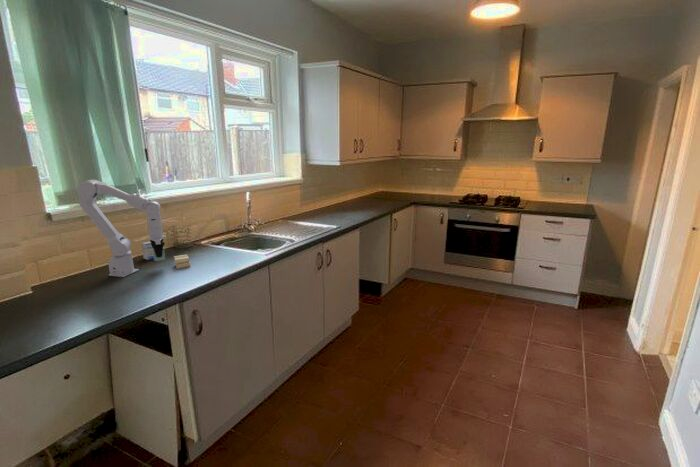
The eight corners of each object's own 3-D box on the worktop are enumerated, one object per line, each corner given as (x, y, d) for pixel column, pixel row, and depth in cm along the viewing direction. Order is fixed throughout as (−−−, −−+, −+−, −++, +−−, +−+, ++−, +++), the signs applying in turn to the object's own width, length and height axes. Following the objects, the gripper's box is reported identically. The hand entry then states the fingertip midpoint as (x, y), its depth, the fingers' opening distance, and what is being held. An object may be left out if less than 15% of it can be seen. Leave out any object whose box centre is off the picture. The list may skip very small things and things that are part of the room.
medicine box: (147, 260, 189) (145, 244, 187) (143, 258, 192) (141, 242, 190) (162, 256, 195) (160, 240, 193) (158, 255, 198) (156, 239, 196)
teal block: (165, 259, 175) (164, 248, 173) (154, 261, 172) (153, 249, 171) (164, 257, 178) (163, 246, 177) (153, 258, 176) (152, 247, 175)
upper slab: (189, 262, 180) (188, 257, 179) (175, 264, 177) (175, 259, 176) (187, 259, 185) (187, 254, 184) (174, 261, 182) (173, 256, 181)
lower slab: (190, 267, 180) (189, 262, 180) (177, 269, 177) (176, 264, 177) (188, 264, 185) (188, 259, 185) (175, 266, 182) (174, 261, 182)
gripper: (166, 229, 167) (169, 258, 171) (163, 223, 179) (166, 250, 183) (148, 231, 164) (152, 260, 167) (146, 225, 176) (150, 252, 179)
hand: (158, 255), depth 175 cm, fingers closed on teal block, 4 cm apart
